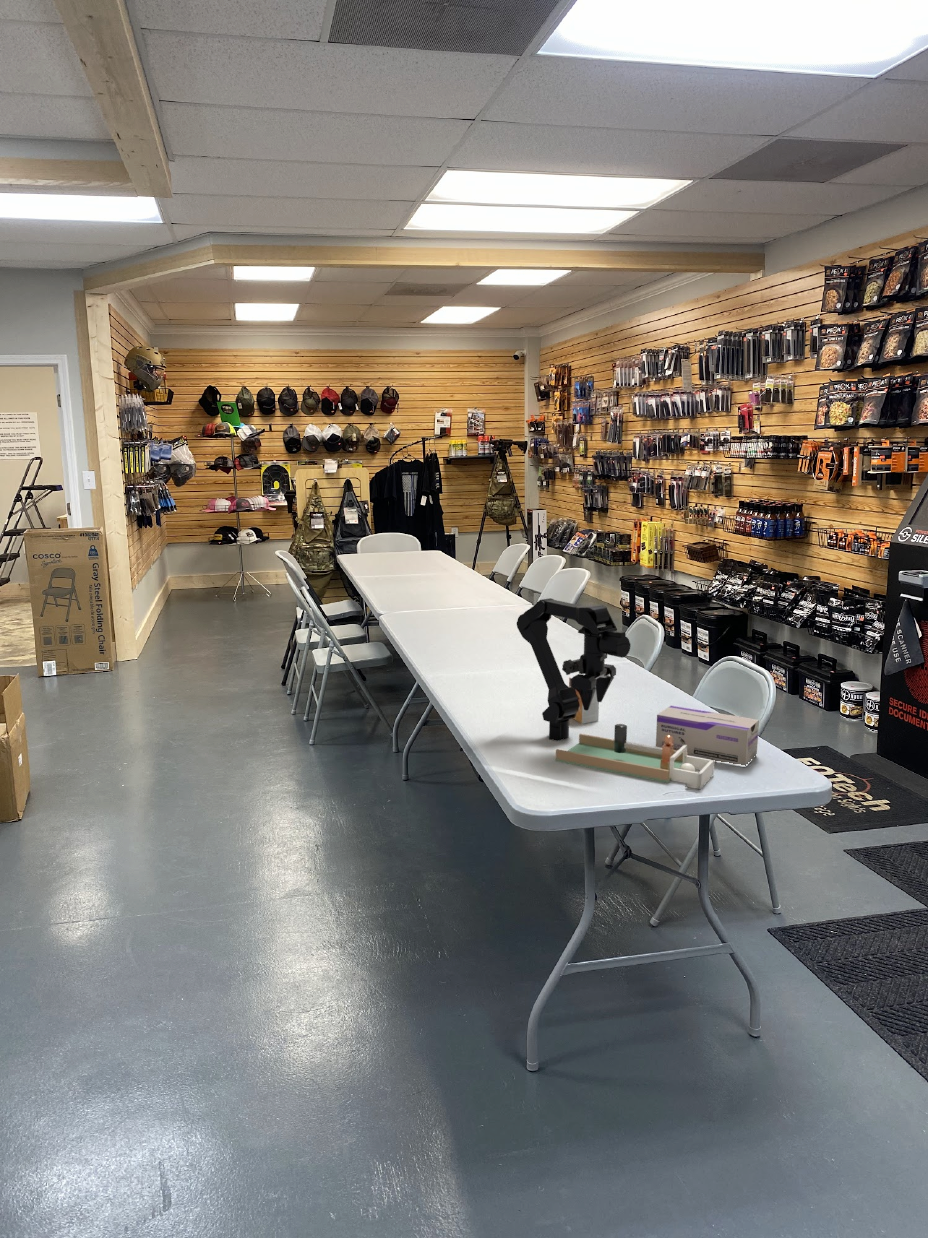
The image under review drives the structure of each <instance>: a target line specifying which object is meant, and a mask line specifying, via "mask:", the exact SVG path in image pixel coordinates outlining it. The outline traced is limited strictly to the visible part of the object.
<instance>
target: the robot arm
mask: <svg viewBox="0 0 928 1238" xmlns="http://www.w3.org/2000/svg"><path fill="white" fill-rule="evenodd" d="M552 616H554V617H555V616H556V617H560V618H565V619H569V620H572V621H574V622H576V623H577V624H578V625H579V626H582V627H581V628H580V629H579V630H578V631H577V633H578V634H581V635H583V654H581V655H580V656H579V658H577V659H573V660H572V659H566V660H564V661H563V663H562V669H561V670H562V671H563V672H564V673H565V675H566V676H569V675H571V674H575V673H578V674H575V675H573V676H572V677H573V678H571V679H570V686H571V687H569V685H567V684H566V683H565V681H564V678H563V676H562V673H561V670H560V668H559V666H558V663H557V661H556V658H555V656H554V653H553V651H552V649H551V646H550V643H549V641H548V630H549V628H548V627H549V626H548V622H549V621H550V620H551V618H552ZM516 627H517V630H518V632H519V633H520V635H521V637H522V638H523V639H524V640H525V641H526V642H527V643H529V644H530V646H531V649H532V651H533V654H534V656H535V658H536V661H537V663H538V667H539V669H540V671H541V673H542V676H543V679H544V681H545V684H546V686H547V688H548V694H547V704H548V707H547V708H546V709H545V710H544V711H543V712H542V713H541V715H542V719H543V721H545V722H548V723H549V724H548V725H549V727H548V729H549V731H548V735H549V737H548V738H549V740H551V741H563V740H568V739H569V737H570V720H571V719H573V718H575V716H576V713H577V711H578V709H579V707H580V704H579V701H578V700H579V697H578V696H577V694H576V690H577V691H578V692H579V694H580V697H581V700H582V704H583V707H584V710H589V707H590V705H591V702H592V699H593V696H594V693H595V690H596V695H597V701H598V702H599V703H602V702H603V699H604V698H605V696H606V694H607V691H608V689H609V687H610V685H611V684H612V681H613V680H614V679H615V676H617V668H616V667H615V666H614V664H607V663H605V660H606V659H608V655H609V656H613V657H618V658H626V657H627V656H628V654H629V653H630V650H631V641H630V640H629V638H628V637H627V635H626V634H627V633H626V631H620V630H619V631H618V629H617V626H616V624H615V622H614V620H613V618H612V616H611V613H609V610H608V607H607V606H606V605H604V604H593V605H591V604H590V605H589V604H588V605H581V604H576V603H570V602H567V601H562V600H557V599H554V598H548V597H547V598H542V599H540V600H538V601H536V603H535V604H534V605H532V606H531V607H529V609H526V611H525V612H523V613H522V614H520V615H519V616H518V618H517V620H516ZM595 686H596V687H595ZM575 689H576V690H575Z"/></svg>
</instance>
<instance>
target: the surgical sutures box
mask: <svg viewBox="0 0 928 1238" xmlns="http://www.w3.org/2000/svg"><path fill="white" fill-rule="evenodd" d="M759 725H760V719H755V718H749V717H742V716H738V715H730V714H725V713H718V712H712V711H706V710H701V709H695V708H689V707H683V706H675V705H669V706H668V707H667V708H665V709H663V710H662V711H661V712H659V713H657V714H656V729H655V730H656V732H655V747H660V748H662V746H663V745H664V744H665V743H664V742H663V738H664V737H665V736H666V735H670V736H672V737H673V743H672V744H674V750H676V751H678V750H679V749H680V748H681V747H682V746H683V745H687V753H688V755H694V756H700V757H703V758H708V759H709V758H710V760H715V761H721V762H729V763H733V764H741V765H745V766H746V764H748V762H750V761H751V759H753V758H754V756H756V754H757V755H758V743H759V741H758V740H759V727H760V726H759Z"/></svg>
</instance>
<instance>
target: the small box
mask: <svg viewBox="0 0 928 1238" xmlns="http://www.w3.org/2000/svg"><path fill="white" fill-rule="evenodd" d="M573 677H574V676H569V677H568V680H569V681H568V687H571V686H570V679H571V678H573ZM595 687H596V686H595ZM575 690H576V689H575ZM576 694H577V696H578V697H579V700H578V701H579V704H580V707H579V709H578V711H577V713H576V716H575V718H572V719H573V720H575V721H577V722H578V723H579V724H588V723H594V722H595V723H596V722H599V716H600V715H599V713H600V712H599V711H600V707H599V706H600V702H598V701H597V695H596V690H595V693H594V696H593V699H592V702H591V705H590V707H589V710H584V707H583V704H582V700H581V697H580V694H579V692H578V691H577V690H576Z"/></svg>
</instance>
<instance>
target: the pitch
mask: <svg viewBox="0 0 928 1238" xmlns="http://www.w3.org/2000/svg"><path fill="white" fill-rule="evenodd" d="M676 752H677V751H676V750H673V755H674V754H675V753H676ZM687 755H688V756H689V754H688V753H687ZM661 760H662V755H660V754H654V753H649V752H643V751H638V750H632V749H627V748H626V752H625V753H616V752H614V739H613V738H612V739H611V738H607V737H600V736H596V735H595V736H594V735H590V734H584V733H579V735H578V743H577V744H576V745H574V746H572V747H571V748H570V749H568V750H562V749H558V748H557V749H556V750H555V761H556V762H560V763H565V764H570V765H574V766H581V767H585V768H590V769H595V770H600V771H606V772H611V773H616V774H621V775H626V776H631V777H636V778H641V779H647V780H651V781H652V780H653V781H656V782H661V783H667V784H669V783H670V782H671V781H672V780H671V778H669V775H670V770H665V769H660V763H661ZM682 764H683V752H682V753H681V754H680V755H679V756H678V757H677V758H676V759H675V760H674V768H677V769H680V766H681V765H682Z"/></svg>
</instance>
